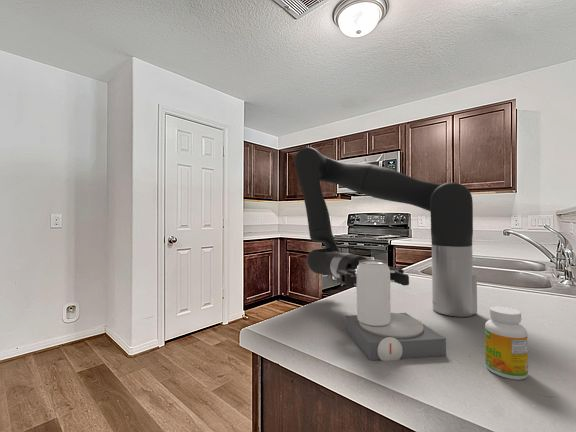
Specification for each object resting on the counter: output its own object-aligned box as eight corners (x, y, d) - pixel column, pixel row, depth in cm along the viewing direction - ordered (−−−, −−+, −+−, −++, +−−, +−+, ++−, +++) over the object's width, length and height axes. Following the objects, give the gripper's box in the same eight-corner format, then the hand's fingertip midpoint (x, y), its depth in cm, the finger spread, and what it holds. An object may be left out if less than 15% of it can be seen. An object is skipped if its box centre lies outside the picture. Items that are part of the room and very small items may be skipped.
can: (383, 330, 53) (382, 265, 53) (351, 322, 57) (350, 262, 57) (395, 320, 58) (394, 261, 58) (365, 313, 62) (364, 258, 62)
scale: (405, 328, 65) (405, 309, 65) (448, 360, 50) (447, 335, 50) (345, 332, 63) (345, 312, 64) (371, 365, 49) (371, 339, 49)
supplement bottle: (477, 363, 48) (476, 305, 48) (507, 361, 49) (506, 304, 49) (504, 381, 43) (503, 316, 43) (537, 379, 43) (536, 314, 43)
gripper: (324, 255, 71) (357, 265, 55) (374, 252, 75) (418, 261, 59) (324, 285, 71) (358, 304, 55) (374, 281, 75) (419, 297, 59)
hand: (389, 282), depth 57 cm, fingers open, 8 cm apart
